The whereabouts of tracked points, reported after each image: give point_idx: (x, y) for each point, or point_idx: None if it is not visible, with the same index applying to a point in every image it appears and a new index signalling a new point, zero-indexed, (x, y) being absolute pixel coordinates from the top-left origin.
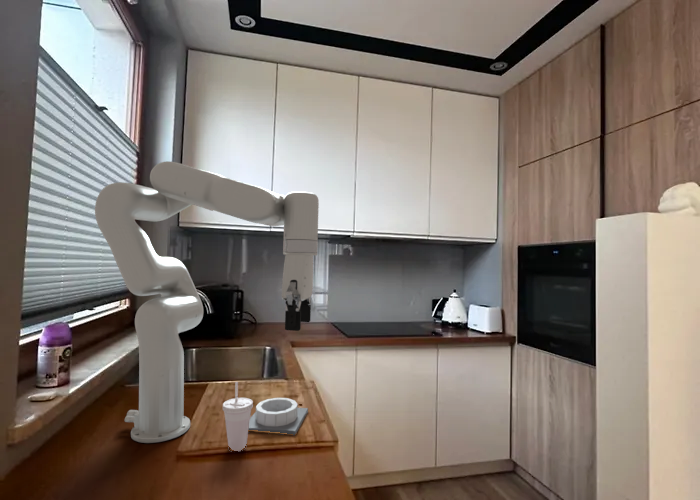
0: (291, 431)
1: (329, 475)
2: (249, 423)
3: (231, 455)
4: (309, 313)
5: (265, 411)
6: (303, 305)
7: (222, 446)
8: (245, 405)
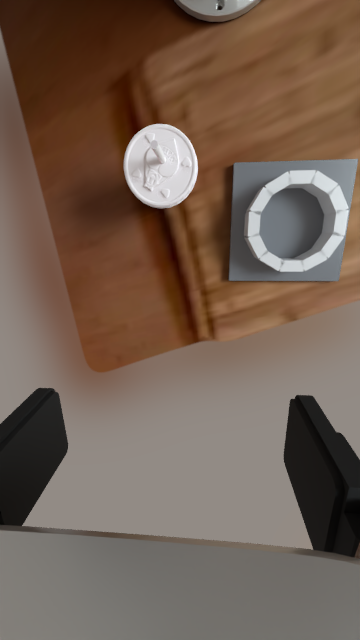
0: (229, 273)
1: (121, 352)
2: (254, 172)
3: None
4: (299, 506)
5: (259, 207)
6: (330, 530)
7: None
8: (149, 194)
